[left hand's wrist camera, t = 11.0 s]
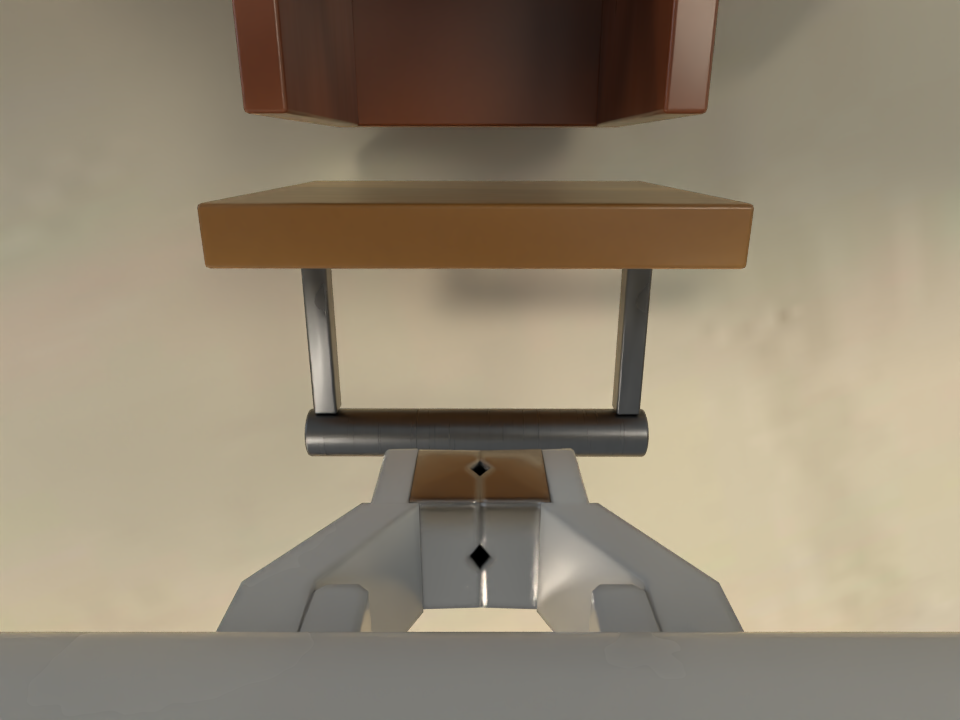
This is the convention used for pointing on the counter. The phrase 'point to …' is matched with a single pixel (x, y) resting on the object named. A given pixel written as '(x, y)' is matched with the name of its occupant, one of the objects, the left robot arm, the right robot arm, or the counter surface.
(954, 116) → the counter surface
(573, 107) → the drawer
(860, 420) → the counter surface
